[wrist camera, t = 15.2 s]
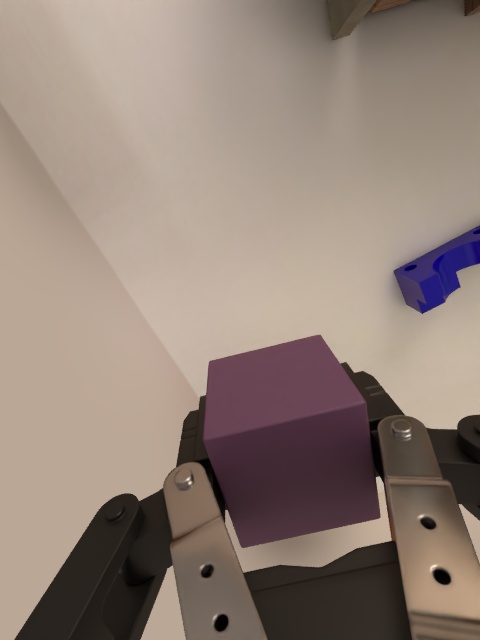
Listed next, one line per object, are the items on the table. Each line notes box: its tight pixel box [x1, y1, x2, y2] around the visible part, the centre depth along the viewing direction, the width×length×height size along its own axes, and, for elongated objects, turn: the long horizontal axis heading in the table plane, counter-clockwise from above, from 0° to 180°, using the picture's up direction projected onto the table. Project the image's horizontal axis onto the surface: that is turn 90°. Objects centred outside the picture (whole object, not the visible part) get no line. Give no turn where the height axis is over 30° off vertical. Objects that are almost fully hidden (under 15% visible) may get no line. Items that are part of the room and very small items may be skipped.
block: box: [203, 335, 380, 548], centre depth 12 cm, size 4×4×4 cm
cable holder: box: [394, 226, 480, 314], centre depth 27 cm, size 8×4×4 cm, turn 119°
